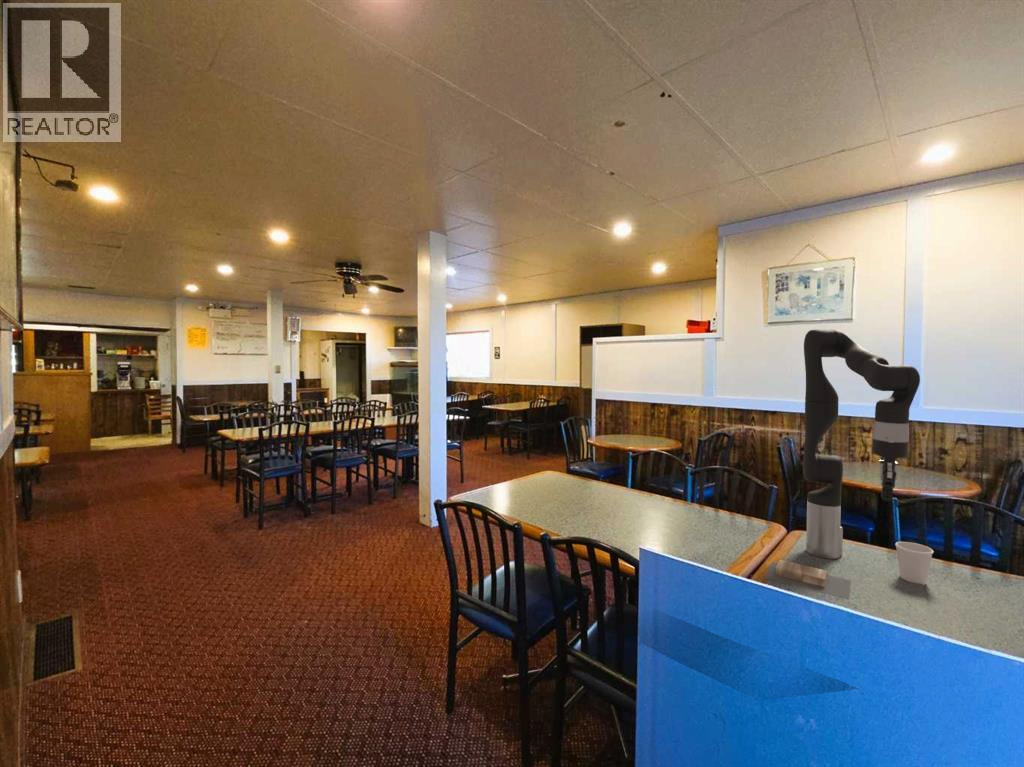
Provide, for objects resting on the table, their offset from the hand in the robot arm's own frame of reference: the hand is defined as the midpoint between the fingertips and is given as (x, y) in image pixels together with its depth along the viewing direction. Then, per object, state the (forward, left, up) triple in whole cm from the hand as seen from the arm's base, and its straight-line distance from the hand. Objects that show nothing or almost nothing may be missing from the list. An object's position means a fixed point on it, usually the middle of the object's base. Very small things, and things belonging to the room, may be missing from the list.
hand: (886, 500), depth 122 cm
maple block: (+13, -6, -24) cm, 28 cm away
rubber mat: (+16, -9, -26) cm, 32 cm away
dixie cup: (-15, -5, -26) cm, 31 cm away
